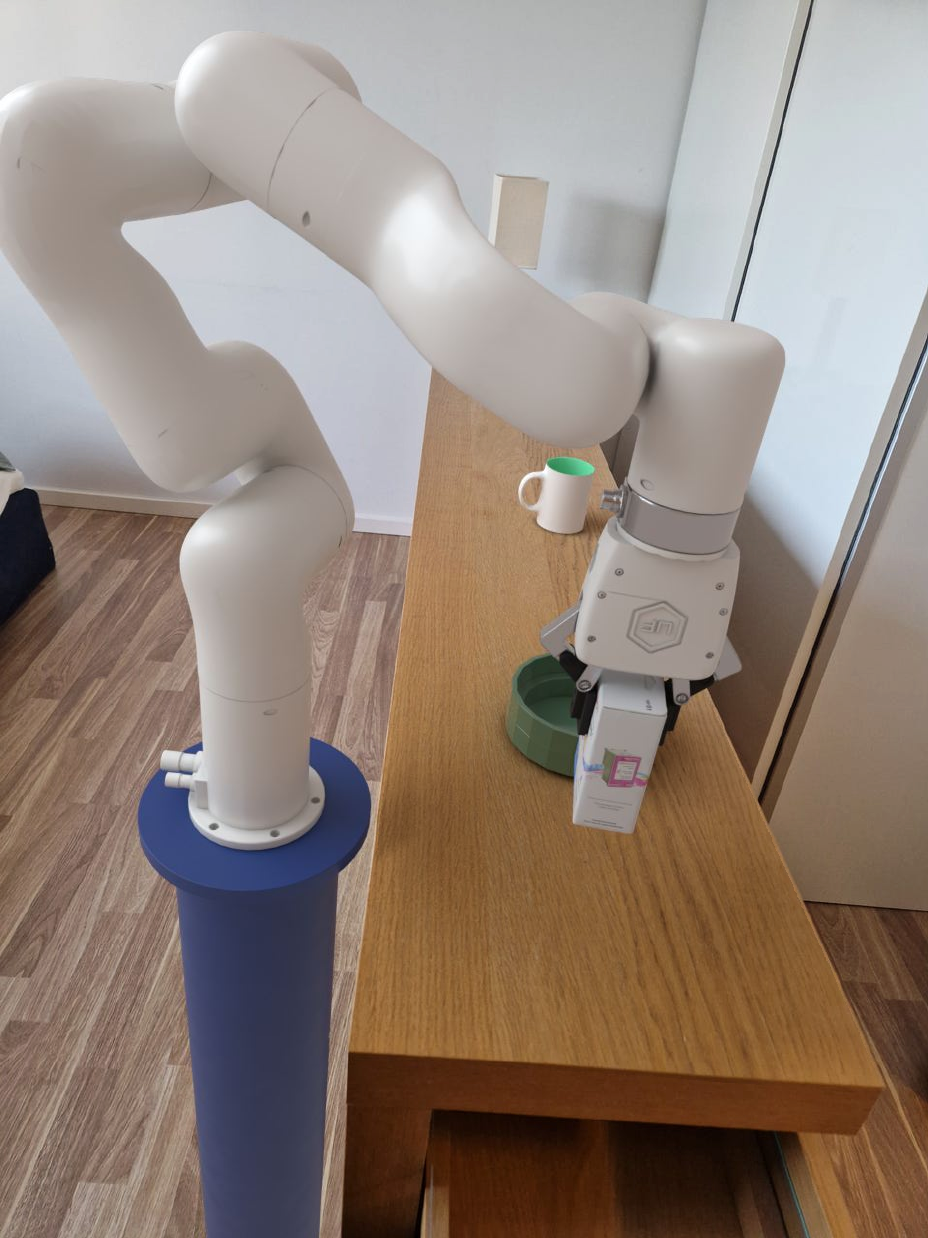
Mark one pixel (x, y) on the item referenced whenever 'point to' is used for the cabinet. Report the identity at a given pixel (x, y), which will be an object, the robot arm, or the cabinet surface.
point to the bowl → (543, 714)
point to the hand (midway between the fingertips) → (618, 727)
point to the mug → (561, 494)
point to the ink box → (618, 750)
